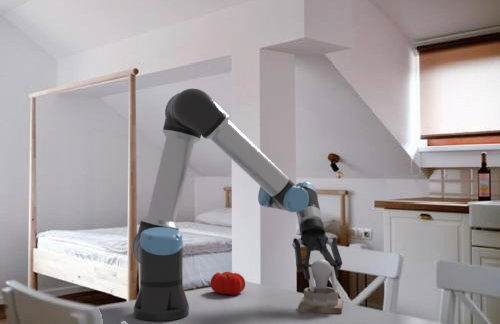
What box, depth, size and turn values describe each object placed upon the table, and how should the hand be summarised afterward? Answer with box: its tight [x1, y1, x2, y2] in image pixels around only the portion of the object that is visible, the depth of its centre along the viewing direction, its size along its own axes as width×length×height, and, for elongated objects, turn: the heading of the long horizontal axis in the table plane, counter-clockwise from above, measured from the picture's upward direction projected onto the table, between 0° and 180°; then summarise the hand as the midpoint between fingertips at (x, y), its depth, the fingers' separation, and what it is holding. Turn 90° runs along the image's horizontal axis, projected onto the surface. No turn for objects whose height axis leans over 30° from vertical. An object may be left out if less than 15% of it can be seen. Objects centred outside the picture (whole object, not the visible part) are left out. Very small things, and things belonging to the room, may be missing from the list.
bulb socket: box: [297, 286, 344, 314], centre depth 176 cm, size 12×12×5 cm
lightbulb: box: [310, 258, 332, 293], centre depth 176 cm, size 6×6×11 cm
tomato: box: [209, 271, 246, 296], centre depth 196 cm, size 10×11×7 cm
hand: (324, 288), depth 173 cm, fingers closed on lightbulb, 6 cm apart
